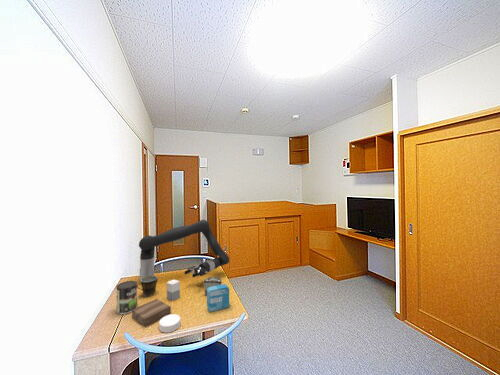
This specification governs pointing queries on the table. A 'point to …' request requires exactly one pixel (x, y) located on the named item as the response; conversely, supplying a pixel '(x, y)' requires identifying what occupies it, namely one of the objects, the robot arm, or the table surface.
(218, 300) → the data package
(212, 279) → the food container
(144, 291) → the ceramic cup
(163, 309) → the walnut stand
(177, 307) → the table surface
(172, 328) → the coaster
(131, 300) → the coffee can
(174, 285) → the block
